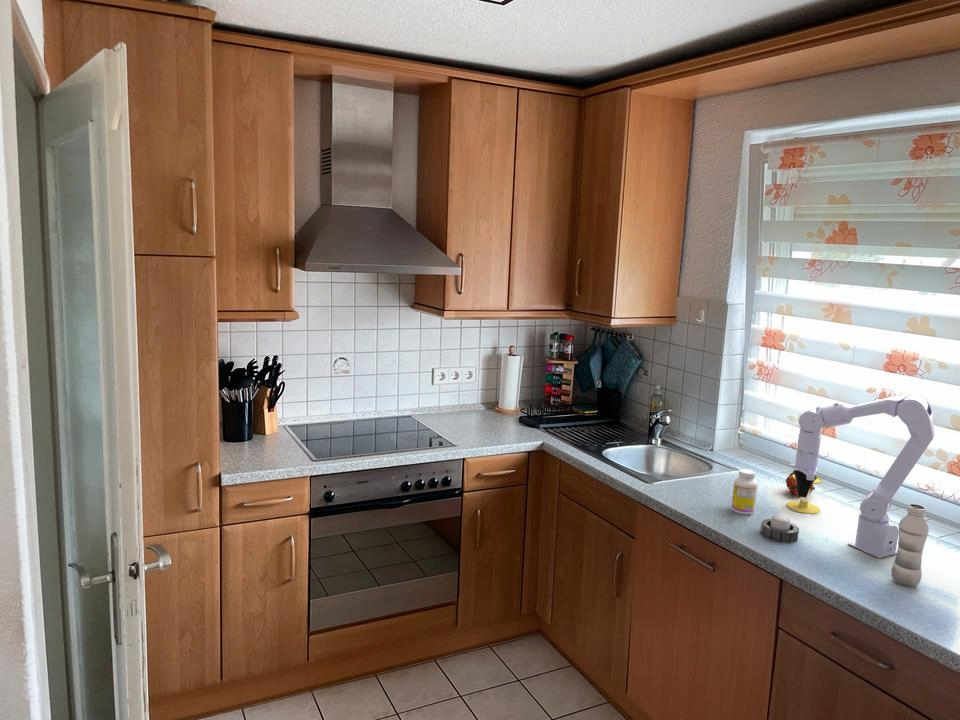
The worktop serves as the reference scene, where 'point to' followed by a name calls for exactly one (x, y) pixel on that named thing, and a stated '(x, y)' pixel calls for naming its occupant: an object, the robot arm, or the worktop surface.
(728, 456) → the worktop surface
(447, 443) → the worktop surface
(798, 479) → the robot arm
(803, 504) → the candle
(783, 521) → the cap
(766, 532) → the segmented grey ring
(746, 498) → the supplement bottle
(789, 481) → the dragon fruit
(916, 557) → the plastic bottle
